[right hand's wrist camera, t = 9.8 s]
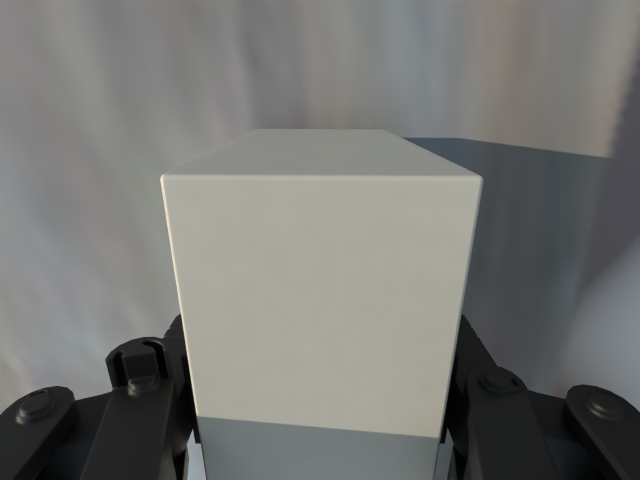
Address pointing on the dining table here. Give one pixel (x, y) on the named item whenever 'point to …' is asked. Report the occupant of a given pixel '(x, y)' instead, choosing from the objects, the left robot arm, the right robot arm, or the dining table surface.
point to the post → (321, 300)
